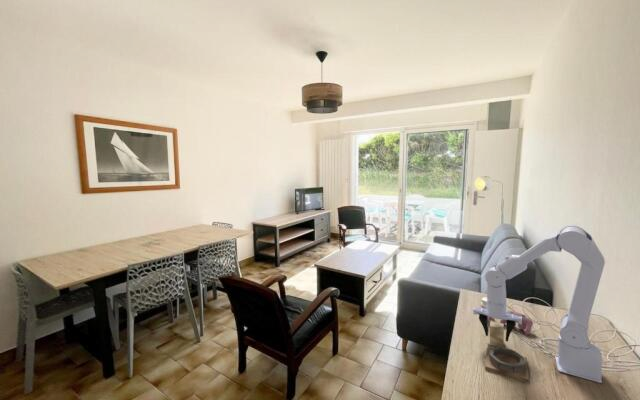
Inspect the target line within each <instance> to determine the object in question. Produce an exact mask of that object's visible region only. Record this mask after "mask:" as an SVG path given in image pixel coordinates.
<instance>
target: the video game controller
mask: <svg viewBox="0 0 640 400" xmlns="http://www.w3.org/2000/svg"><path fill="white" fill-rule="evenodd" d="M506 312H508V313H511V314H514V315H517V316H521V317H522V324H518V323H517V322H515V327H516V326H517V328H518V329H519V330H522V331H524V334H525V336H529V335H530V333H531V331H532V327H533V325H534V323H533V322H534V321H533V320H532V319H531V318H529V317H528V316H526V315H525V314H523V313H520V312H518V311H511V310H510V311H509V310H506ZM499 321H500V322H499V323H502V324H504V326H506V320H503V319H500V320H499Z"/></svg>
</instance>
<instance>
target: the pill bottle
mask: <svg viewBox="0 0 640 400" xmlns="http://www.w3.org/2000/svg"><path fill="white" fill-rule="evenodd" d="M480 308H487V296H484V297H482V298H481V302H480ZM494 320H495V318H492V317H489V316H488V322H490V321H493V322H494Z"/></svg>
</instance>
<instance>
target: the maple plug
mask: <svg viewBox="0 0 640 400" xmlns="http://www.w3.org/2000/svg"><path fill="white" fill-rule="evenodd" d="M504 326H505V325H504V324H502V323H500V322H497V321H494V320H493V321H489V345H490V346H493V347H499V346H500V347H504V344H505V342H504V341H505V339H504V333H505V332H504Z"/></svg>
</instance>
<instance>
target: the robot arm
mask: <svg viewBox="0 0 640 400" xmlns="http://www.w3.org/2000/svg"><path fill="white" fill-rule="evenodd" d="M562 250H563V251H565V252H567V253H569V254H571V255H573V256H574V257H575V258H576V259H577V260H578V261H579V262H580V266H579V271H578V273H577V277H576V282H575V286H574V289H573V292H572V296H571V300H570V304H569V306H568V309H567V312H566V314H565V315H563V316H562V317H561V319H560V320H561V321H560V323H561V324H560V325H561V326H560V330H559V334H558V341H557V343H558V344H557V345H558V346H557V348H558V349H557V352H558V353H557V354H558V355H557V356H558V357H556V356H554V359H555V363H556V367H557V370H558V372H560V373H564V374H568V375H570V376H574V377H578V378H581V379H584V380H585V379H586V380H588V381H589V380H590V381H593V382H596V383H599V384H602V383H603V380H602V374H603V373H602V371H603V370H602V368H603V359H602V350H601V348H600V346H598V345H596V344H593V343H591V341H590V338H589V323H590V317H591V314H592V309H593V308H594V307H593V306H594V303H595V300H596V296H597V293H598V288H599V286H600V282H601V278H602V275H603V272H604V267H605V264H606V261H605V257H604V255H603V254H602V251H601V250H600V248H599V247H598V246H597V243H596V242H595V240H594V238H593V237H592V235H591V234H590V233H588V232H587V231H586V230H585V229H584V228H582V227H580V226H578V225H577V226H576V225H568V226H567V225H566V226H565V227H563V228H561V229H560V231H559V230H557V231H554V232H552V233H551V234H549V235H547V236H546V237H544V238H543V239H541V240H539V241H538V242H536V244H534V245H532V246H531V247H529V248H528V249H526V250H525V251H524V252H522V253H521V254H512V255H506V256H505V257H504V260H502V261H501V262H499V263H498V264H497V263H494V265H493V266H492V267H491V268H489V270H488V271H486V273H485V276H484V279H485V281H486V283H487V284H486V285H487V286H486V297H487V308H481V307H477V306H474V307H473V310H472V314H473V315H478V319H479V322H480V323H481V326H482V328H483V330H484V333H485V337H488V336H489V323H488V322H489V321H488V316H489V317H492V318H494V320H495V319H497V320H501V319H503V320H506V323H505V326H506V329H505V330H506V331H505V341H506V342H509V338H510V335H511V333H512V331H513V330H514V329H515V327H516V326H515V322H516V324H517V325H518V324H522V317H521V316H517V315H514V314H511V313H508V312H507V287H506V283H507V282H506V281H507V280H511V279H513V278H514V277H516V276H517V275H520V274H521V273H523V272H525V271H526V270H527V269H528V264H529V263H531V262H532V261H535V260H536V259H538V258H540V257H541V256H543V255H546V254H547V253H549V252H558V253H559V252H560V253H561V252H562Z"/></svg>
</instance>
